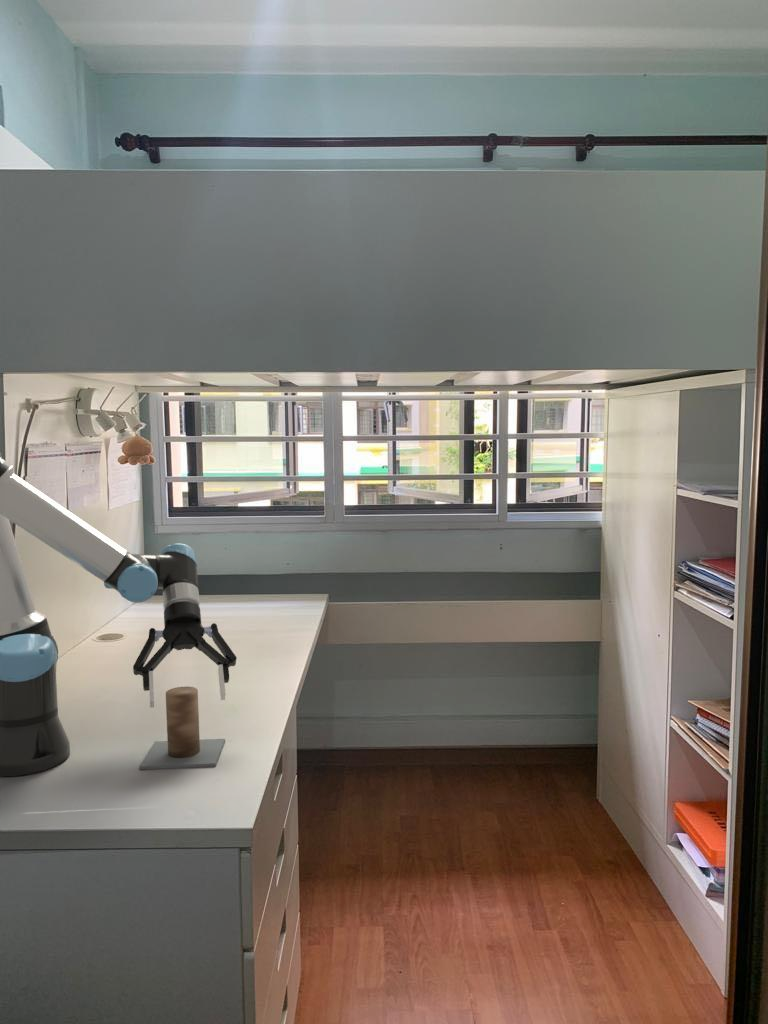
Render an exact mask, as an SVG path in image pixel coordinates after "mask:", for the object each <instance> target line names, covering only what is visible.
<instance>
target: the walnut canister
mask: <svg viewBox="0 0 768 1024" xmlns="http://www.w3.org/2000/svg"><path fill="white" fill-rule="evenodd" d="M165 709H166V710H165V713H166V734H167V735H166V736H167V738H166V741H168V755H169V756H170V757H173V758H186V757H191V756H194V755H196V754H198V753H199V752H200V740H201V738H200V715H199V713H200V712H199V689H198V688H197V687H193V686H177V687H173V688H170V689H168V690H166V691H165Z"/></svg>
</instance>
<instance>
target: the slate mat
mask: <svg viewBox="0 0 768 1024" xmlns="http://www.w3.org/2000/svg"><path fill="white" fill-rule="evenodd" d="M225 743H226V738H210V739H207V738H206V739H200V752H199V753H198V754H196V755H194V756H191V757H186V758H173V757H170V756H169V755H168V740H157V741H156V740H155V741H154V742H153V744H152V745H151V747H150V749H149V750H148V752H147V754H146V755H145V757H144V758H143V760H142V761H141V762H140V765H139V770H159V769H182V768H183V769H185V768H186V769H187V768H207V767H208V768H209V767H217V764H218V763H219V762H218V761H219V759H220V756H221V754H222V750H223V748H224V746H225Z"/></svg>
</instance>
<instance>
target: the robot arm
mask: <svg viewBox="0 0 768 1024" xmlns="http://www.w3.org/2000/svg"><path fill="white" fill-rule="evenodd" d="M11 523H13V524H14V525H17V526H18V527H19V528H20V529H23V530H24V531H25V532H27V533H28V534H30V535H32V536H34V537H35V538H36V539H38V540H39V541H41V542H43V543H44V544H45V545H47V546H49V547H50V548H52V549H53V550H55V551H56V552H58V553H59V554H61V555H62V556H63V557H65V558H67V559H68V560H70V561H71V562H73V563H75V564H76V565H78V566H79V567H80V568H82V569H84V570H86V571H87V572H89V574H91V575H92V576H94V577H96V578H98V579H99V580H101V581H102V582H103V585H104V588H106V589H108V590H109V589H110V590H115V591H117V592H118V593H119V594H120V596H121V597H122V598H124V600H127V601H129V602H131V603H144V602H146V601H148V600H150V599H151V598H152V597H153V596H154V595H155V593H156V592H157V590H158V589H161V590H162V600H163V601H162V602H163V603H162V604H163V605H162V607H163V620H164V621H163V622H164V623H163V625H164V626H163V627H164V629H163V630H156V629H155V627H151V628H150V629H148V630H149V631H148V637H147V640H146V641H145V644H144V645H143V647H142V649H141V650H140V652H139V655H138V657H137V658H136V660H135V662H134V664H133V666H132V671H133V675H134V676H138V675H139V676H141V677H142V687H143V691H144V692H146V691H149V708H152V709H153V708H155V696H154V694H155V693H154V692H155V691H154V671H155V669H156V668H158V666H159V665H160V664H161V662H162V661H163V660H164V659H165V658H166V657H167V656H168V655H169V654H170V653H171V652H172V651H173V650H176V651H183V650H192V649H193V648H195V649H197V650H198V651H200V652H202V653H203V654H204V655H205V656H207V657H208V659H210V660H211V661H213V663H214V664H215V665H217V666H218V669H217V670H218V671H217V673H218V674H217V675H218V683H219V692H220V695H219V696H220V700H221V701H226V684H229V681H230V670H229V668H230V667H235V666H236V664H237V659H238V658H237V656H236V654H235V652H233V650H232V649H231V647H230V646H229V644H228V643H227V642H226V640H225V639H224V638H223V636H222V635H221V633H220V632H219V628H218V624H217V623H211V624H210V626H203V625H202V613H201V605H200V592H199V582H198V581H199V580H198V564H197V559H196V555H195V551H194V549H193V548H192V547H191V546H189V545H188V544H185V543H180V542H178V543H173V544H168V545H166V546H165V547H164V548H163V549H162V551H161V553H158V554H140V553H139V554H137V553H131V552H130V551H128V550H127V549H125V548H124V547H122V546H120V545H119V544H118V543H116V542H115V541H113V540H112V539H111V538H109V537H108V536H106V535H105V534H103V533H102V532H100V531H98V530H97V529H96V528H94V527H93V526H92V525H91V524H88V523H87V522H86V521H84V520H83V519H82V518H80V517H79V516H77V515H75V514H74V513H73V512H71V511H70V510H68V509H67V508H65V507H64V506H62V505H61V504H59V503H58V502H57V501H56V500H53V499H52V498H50V497H49V496H48V495H46V494H45V493H43V492H42V491H41V490H39V489H37V487H35V486H33V485H32V484H30V483H29V482H27V481H26V480H24V478H22V477H20V476H19V475H17V474H16V473H15V468H14V465H13V464H11V463H9V462H8V461H7V460H5V459H4V458H3V457H2V454H1V452H0V777H19V776H26V775H30V774H36V773H40V772H43V771H46V770H49V769H51V768H54V767H57V766H58V765H60V764H62V763H63V762H65V761H66V760H67V759H68V758H69V757H70V755H71V749H70V748H71V746H70V745H71V744H70V743H71V742H70V740H69V738H68V736H67V733H66V731H65V729H64V727H63V724H62V722H61V719H60V717H59V708H58V707H59V706H58V705H59V703H58V688H57V686H58V685H57V666H58V665H57V663H58V659H59V655H58V654H59V648H58V644H57V641H56V639H54V636H53V635H52V632H51V629H50V625H49V622H48V620H47V619H48V618H47V615H46V614H44V613H42V612H40V611H38V610H37V609H36V606H35V603H34V600H33V597H32V593H31V590H30V586H29V583H28V579H27V576H26V573H25V570H24V566H23V562H22V560H21V556H20V553H19V550H18V545H17V543H16V539H15V535H14V532H13V529H12V525H11ZM204 635H207V636H208V637H209V638H211V639H212V642H213V643H214V644H215V646H216V647H217V648H218V650H219V651H220V652H219V651H218V650H217V649H215V647H213V645H211V644H209V643H208V642H207V641H206V639H205V638H204V637H203V636H204ZM161 638H162V639H163V640H164V642H163V644H162V645H161V646H160V648H159V649H157V651H156V652H155V653H154V654H153V656H152V657H151V658H150V659H149V661H147V660H148V658H149V656H150V654H151V652H152V650H153V648H154V646H155V644H156V643H157V642H158V641H160V639H161ZM146 662H147V663H146Z"/></svg>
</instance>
